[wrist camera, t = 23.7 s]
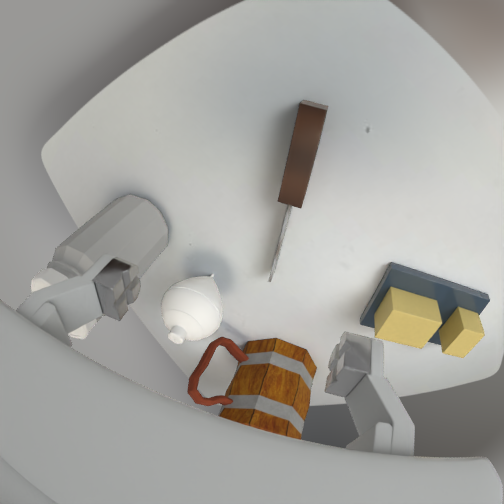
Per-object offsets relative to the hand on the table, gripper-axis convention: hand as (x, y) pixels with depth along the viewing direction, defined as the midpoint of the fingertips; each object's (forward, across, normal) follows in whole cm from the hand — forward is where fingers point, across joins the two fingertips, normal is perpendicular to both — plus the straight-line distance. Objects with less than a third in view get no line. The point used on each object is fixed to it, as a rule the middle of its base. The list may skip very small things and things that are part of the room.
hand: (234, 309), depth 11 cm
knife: (+22, 0, +6) cm, 23 cm away
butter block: (+21, -17, +15) cm, 31 cm away
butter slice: (+21, -26, +15) cm, 37 cm away
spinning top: (+22, +8, +20) cm, 31 cm away
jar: (+22, +19, +15) cm, 33 cm away
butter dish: (+22, -21, +15) cm, 34 cm away
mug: (+22, -2, +34) cm, 41 cm away
